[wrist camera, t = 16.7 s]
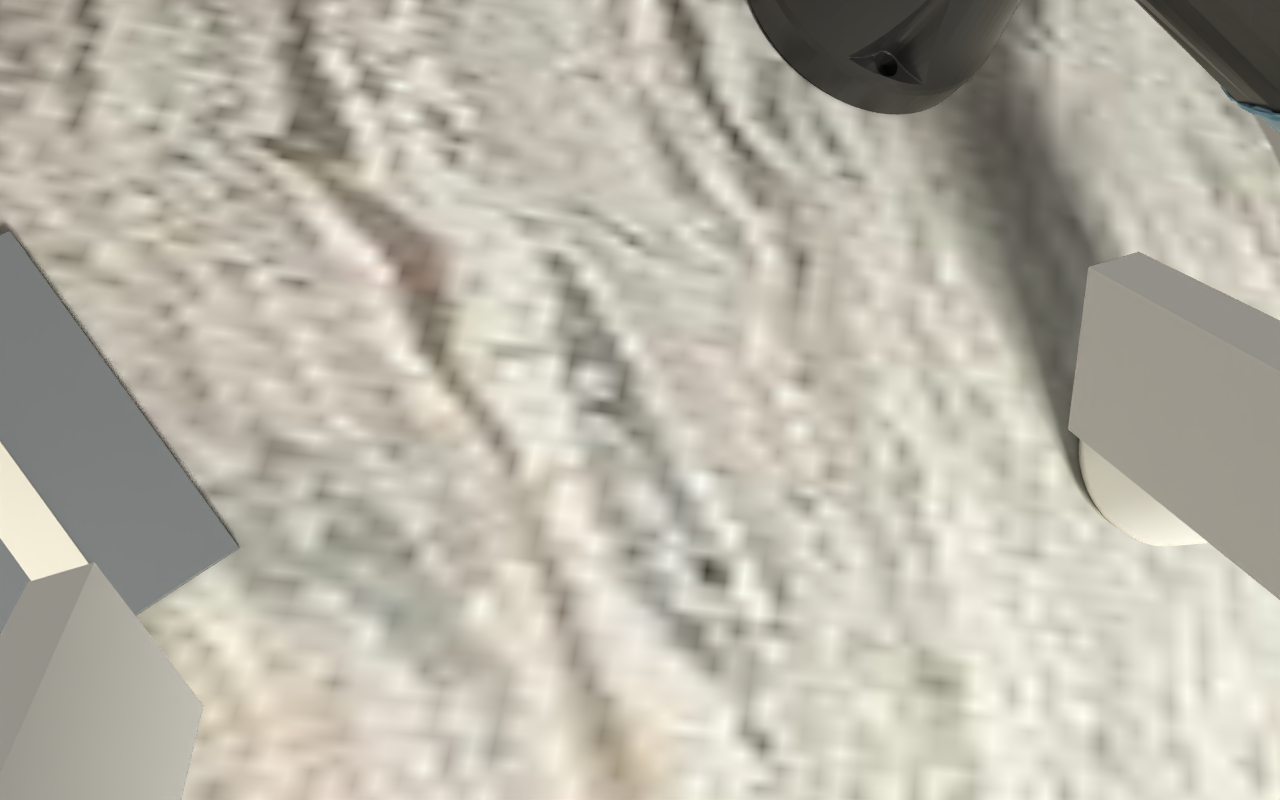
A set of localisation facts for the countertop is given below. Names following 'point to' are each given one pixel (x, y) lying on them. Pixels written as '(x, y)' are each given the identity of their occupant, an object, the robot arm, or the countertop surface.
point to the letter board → (85, 461)
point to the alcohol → (1131, 504)
